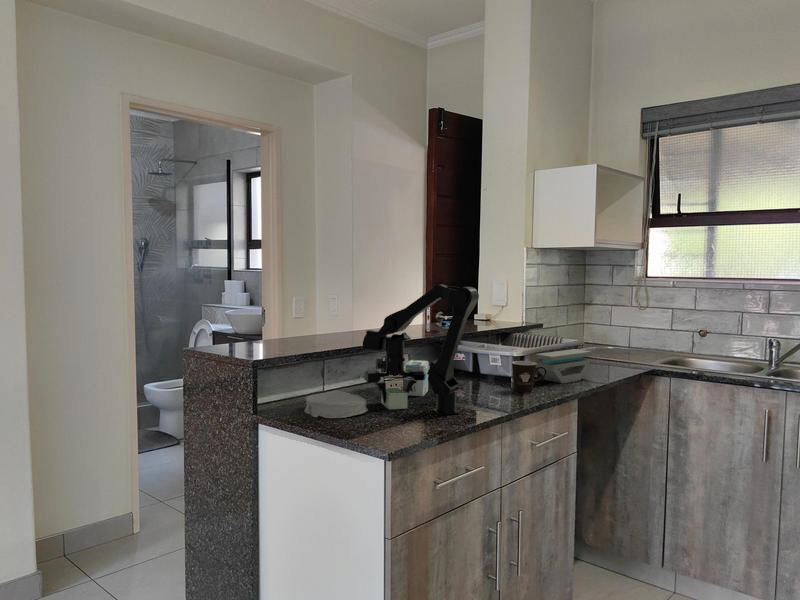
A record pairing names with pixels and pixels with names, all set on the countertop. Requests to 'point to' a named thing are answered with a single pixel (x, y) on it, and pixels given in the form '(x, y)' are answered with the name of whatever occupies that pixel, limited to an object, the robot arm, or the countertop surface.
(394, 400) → the crate
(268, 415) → the countertop surface
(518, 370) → the coffee mug
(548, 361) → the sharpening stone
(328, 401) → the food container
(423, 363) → the light bulb box
